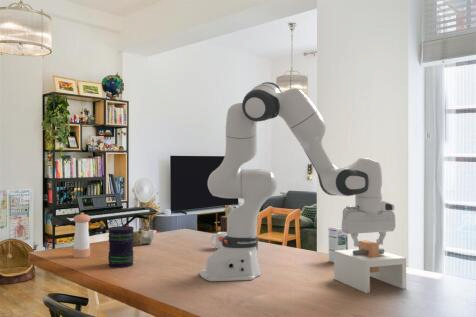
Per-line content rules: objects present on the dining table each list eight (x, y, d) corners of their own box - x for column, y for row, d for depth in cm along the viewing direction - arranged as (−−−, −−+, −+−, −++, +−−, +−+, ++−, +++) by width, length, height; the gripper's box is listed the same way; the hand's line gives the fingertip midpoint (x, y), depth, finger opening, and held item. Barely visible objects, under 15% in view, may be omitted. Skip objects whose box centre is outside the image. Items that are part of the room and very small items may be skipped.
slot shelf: (365, 292, 133) (365, 256, 133) (334, 278, 150) (334, 246, 150) (406, 288, 139) (406, 252, 139) (371, 275, 155) (371, 243, 156)
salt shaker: (78, 258, 180) (79, 214, 181) (69, 256, 185) (70, 212, 185) (93, 255, 186) (94, 212, 186) (84, 253, 190) (84, 211, 191)
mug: (236, 248, 205) (236, 232, 205) (227, 251, 198) (227, 234, 198) (215, 246, 211) (215, 230, 211) (206, 249, 204) (206, 232, 204)
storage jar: (103, 265, 169) (103, 227, 169) (124, 261, 176) (125, 225, 176) (116, 269, 162) (117, 230, 162) (138, 265, 169) (138, 227, 169)
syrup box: (337, 263, 173) (337, 228, 174) (328, 261, 179) (328, 226, 179) (348, 262, 176) (348, 227, 176) (338, 259, 181) (338, 226, 182)
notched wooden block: (371, 272, 141) (371, 244, 141) (358, 267, 147) (358, 240, 147) (378, 271, 142) (378, 243, 142) (365, 267, 148) (365, 240, 148)
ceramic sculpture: (156, 228, 212) (127, 231, 205) (157, 245, 212) (127, 249, 205) (150, 225, 222) (121, 229, 215) (151, 242, 222) (122, 246, 214)
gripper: (348, 207, 138) (348, 249, 138) (398, 205, 146) (398, 245, 145) (337, 205, 144) (337, 245, 144) (385, 203, 152) (386, 242, 151)
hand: (368, 245), depth 145 cm, fingers open, 8 cm apart
